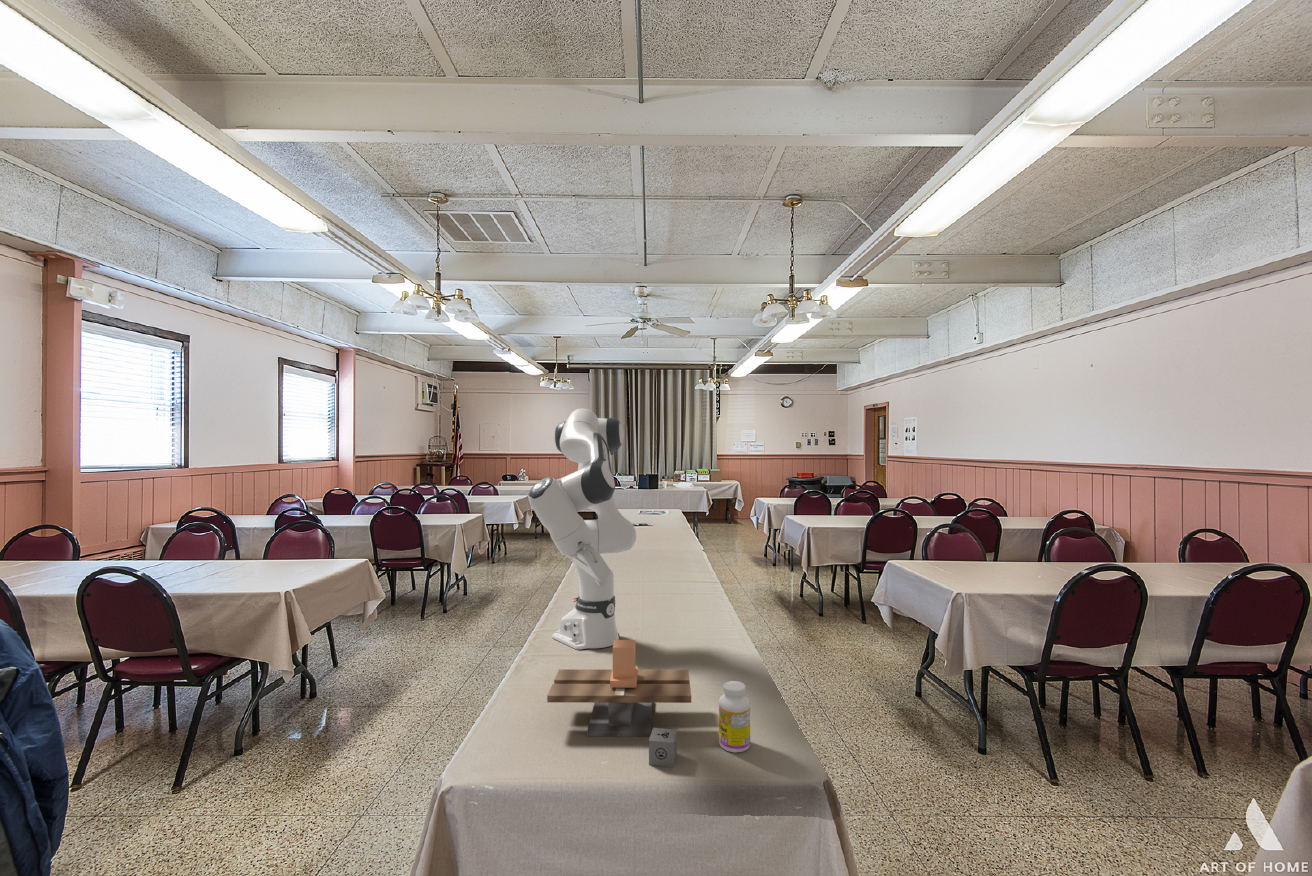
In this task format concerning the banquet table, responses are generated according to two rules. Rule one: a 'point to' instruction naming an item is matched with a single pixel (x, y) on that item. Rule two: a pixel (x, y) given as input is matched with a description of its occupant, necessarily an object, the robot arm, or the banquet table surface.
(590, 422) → the robot arm
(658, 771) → the banquet table surface
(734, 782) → the banquet table surface
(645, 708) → the balance beam
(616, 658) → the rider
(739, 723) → the supplement bottle
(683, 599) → the banquet table surface
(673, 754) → the dice cube
